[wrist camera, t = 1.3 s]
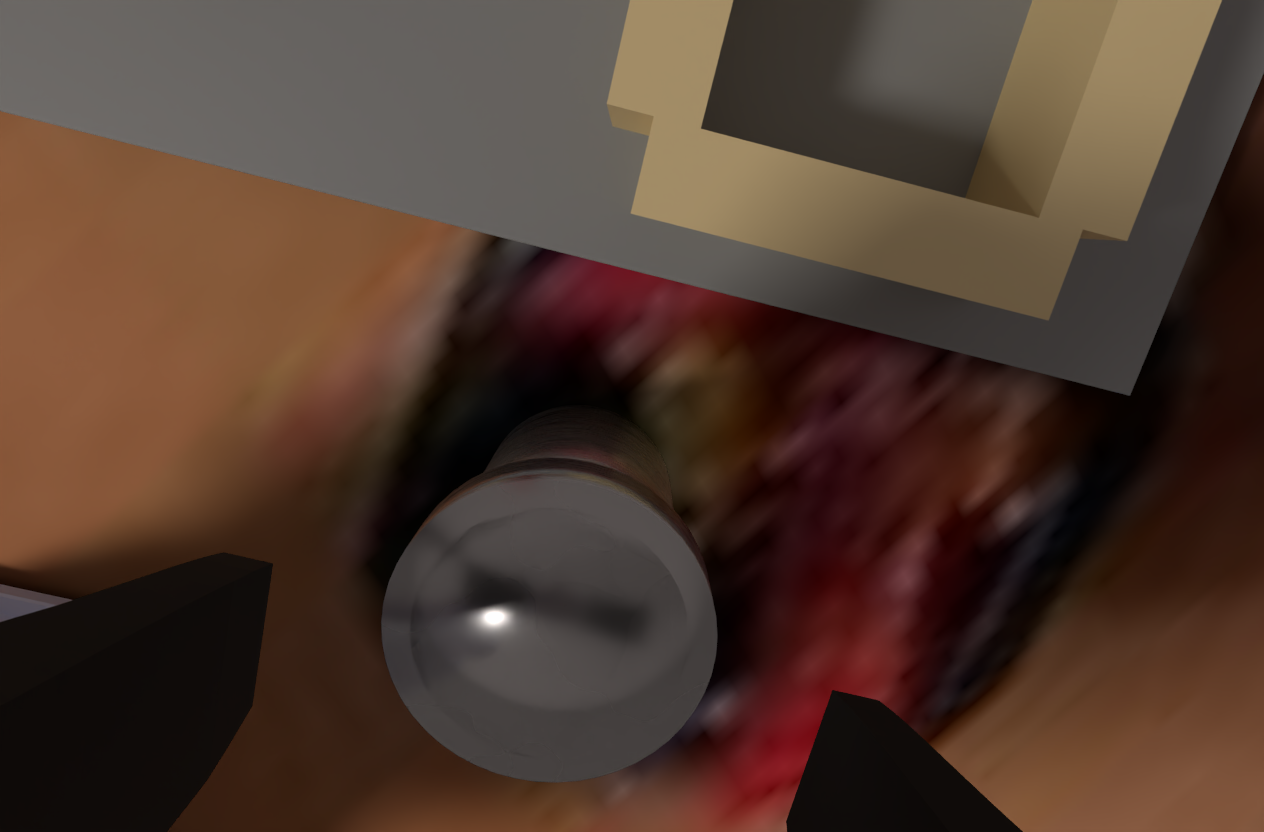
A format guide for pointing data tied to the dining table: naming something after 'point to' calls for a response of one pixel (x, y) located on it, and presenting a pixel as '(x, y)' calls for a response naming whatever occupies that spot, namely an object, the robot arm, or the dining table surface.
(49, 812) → the robot arm
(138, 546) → the dining table surface
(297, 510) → the dining table surface
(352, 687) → the dining table surface
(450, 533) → the cylinder
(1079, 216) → the board
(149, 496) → the dining table surface
